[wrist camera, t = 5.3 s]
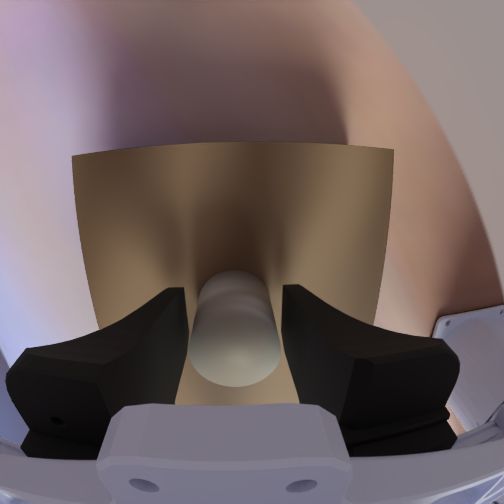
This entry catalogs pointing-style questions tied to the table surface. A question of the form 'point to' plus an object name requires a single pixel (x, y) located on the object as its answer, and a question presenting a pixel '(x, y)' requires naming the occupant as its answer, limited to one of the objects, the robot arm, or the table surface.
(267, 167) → the cover
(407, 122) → the table surface
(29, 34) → the table surface
